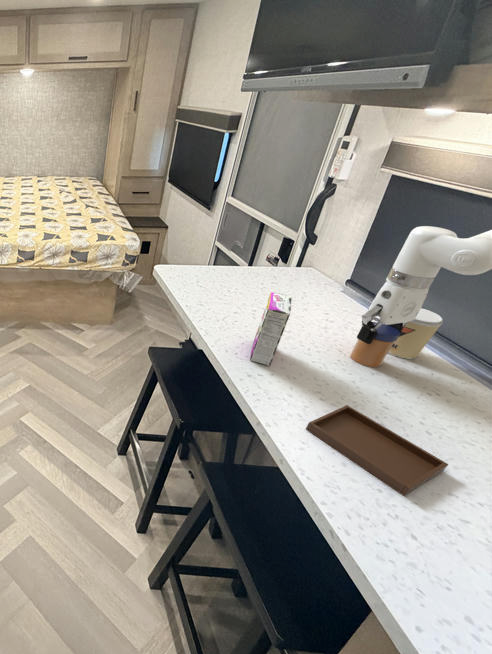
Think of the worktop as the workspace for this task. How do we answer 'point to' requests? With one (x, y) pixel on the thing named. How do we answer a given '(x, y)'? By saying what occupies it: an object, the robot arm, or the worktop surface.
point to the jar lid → (386, 333)
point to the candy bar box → (271, 328)
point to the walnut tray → (377, 449)
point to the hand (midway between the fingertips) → (376, 338)
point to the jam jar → (371, 352)
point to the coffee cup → (416, 334)
